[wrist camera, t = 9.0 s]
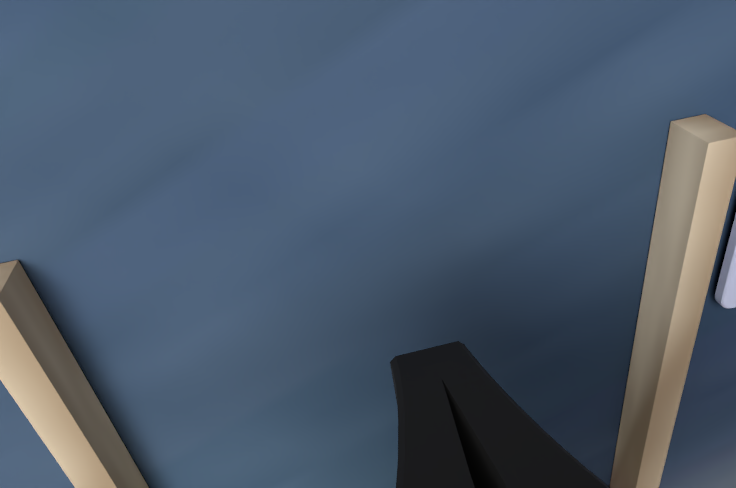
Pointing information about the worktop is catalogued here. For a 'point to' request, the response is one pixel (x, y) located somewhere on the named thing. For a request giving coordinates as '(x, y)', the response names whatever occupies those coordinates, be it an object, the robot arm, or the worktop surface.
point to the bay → (647, 367)
